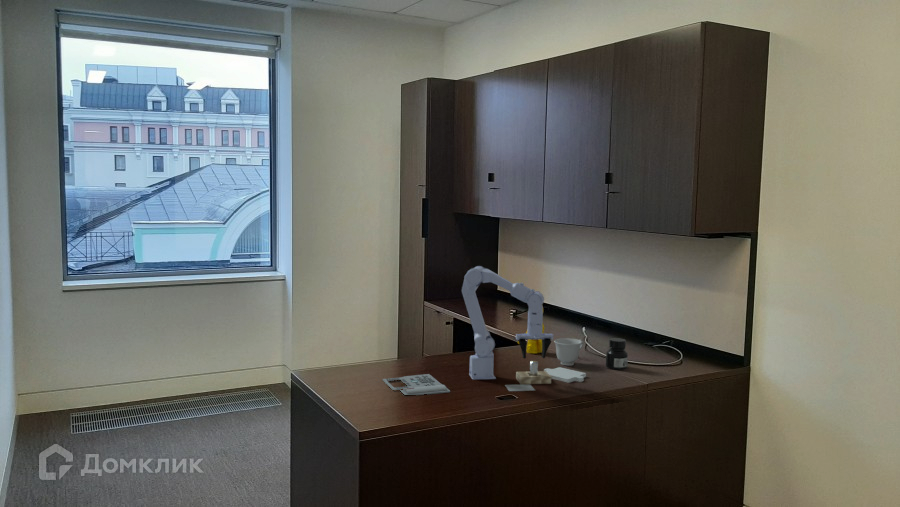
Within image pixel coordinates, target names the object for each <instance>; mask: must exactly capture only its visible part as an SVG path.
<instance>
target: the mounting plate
mask: <svg viewBox="0 0 900 507" xmlns="http://www.w3.org/2000/svg"><path fill="white" fill-rule="evenodd" d="M543 371H546V372H547V373H548V374H549V375H550V376H551V380H556V381H560V382H565V383H567V384H570V383H572V382H579V383H582V382H584V380H585V378H586V377H587V372H584V371H583V372H582V371H578V370H573V369H569V368H565V367H560V366H558V367H556V368H548V367H547V368H544V369H543Z"/></svg>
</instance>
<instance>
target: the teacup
mask: <svg viewBox="0 0 900 507" xmlns="http://www.w3.org/2000/svg"><path fill="white" fill-rule="evenodd" d="M553 340H554V341H553V342H554V344H555V351H556V357H557V360H559V361H560V365H562V366H574V365H575V362H576V361H578V358H579V356H580V355H579V354H580V351H581V350H582V349H583V347H584V341H583V339H577V338H572V337H571V338H567V337H565V338H564V337H561V338H556V339H553Z"/></svg>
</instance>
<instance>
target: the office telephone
mask: <svg viewBox="0 0 900 507" xmlns="http://www.w3.org/2000/svg"><path fill="white" fill-rule="evenodd" d="M382 380H383V381H384V382H385V384H387V385H388V386H389V387H390V388H391V389H392V390H400V391H401V392H402V393H403V394H404V395H416V396H425V395H424V394H427V395H436V394H437V395H438V394H446V393H451V390H450V389H449V388H447V386H446V385H445V384H442V383H440V382H439V381H438V380H437V379H436V378H435V377H434V376H432V375H431V374H430V373H427V374H425V373H424V374H415V375H406V376H405V375H404V376H400V377H392V378H391V377H390V378H382ZM382 380H381V381H382ZM394 380H401V381H402V382H403V383H405V384H406V385H407V386H406V385H405V386H396V387H394V386H393V385H392V384H391V382H388V381H394ZM401 381H400V382H401ZM402 382H401V383H402ZM403 383H402V384H403ZM385 384H384V385H385ZM390 388H389V389H390ZM391 389H390V390H391ZM401 389H403V390H401ZM392 390H391V391H392ZM400 391H399V392H400ZM401 392H400V393H401ZM403 394H402V395H403ZM404 395H403V396H404Z"/></svg>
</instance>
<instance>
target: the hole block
mask: <svg viewBox="0 0 900 507" xmlns="http://www.w3.org/2000/svg"><path fill="white" fill-rule="evenodd" d="M515 379H516V380H517V382H518V383H519V385H522V384H530V385H542V384H543V385H544V384H545V385H548V384H552V378H551V376H550V375H549V374H548V373H547V372H546V371H544V370H538V376H530V370H529V371H527V370H526V371H516V372H515Z"/></svg>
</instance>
